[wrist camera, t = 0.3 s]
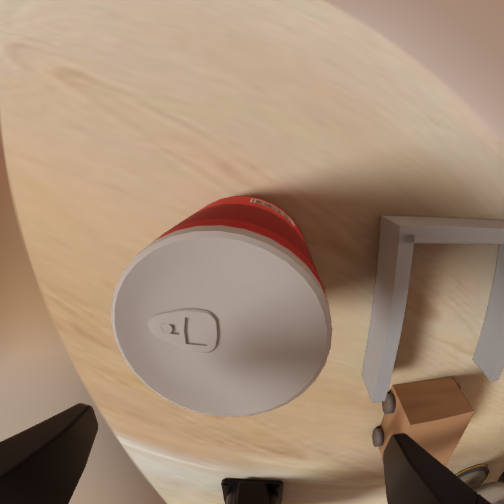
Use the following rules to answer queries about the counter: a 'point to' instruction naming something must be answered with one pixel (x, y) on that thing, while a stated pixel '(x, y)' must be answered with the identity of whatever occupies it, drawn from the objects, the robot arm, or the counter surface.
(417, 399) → the brown toy brick
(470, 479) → the apothecary jar
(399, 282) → the dock
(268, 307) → the canned food
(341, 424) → the counter surface
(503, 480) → the french press
